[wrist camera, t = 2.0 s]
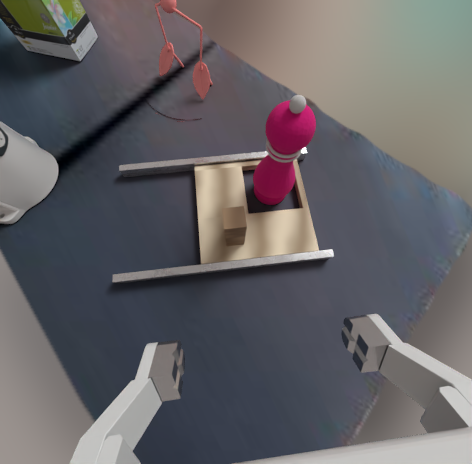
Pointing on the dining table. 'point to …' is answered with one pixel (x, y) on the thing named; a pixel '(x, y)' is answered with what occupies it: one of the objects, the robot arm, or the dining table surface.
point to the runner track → (190, 165)
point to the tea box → (50, 26)
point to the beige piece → (246, 218)
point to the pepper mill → (283, 149)
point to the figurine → (166, 57)
